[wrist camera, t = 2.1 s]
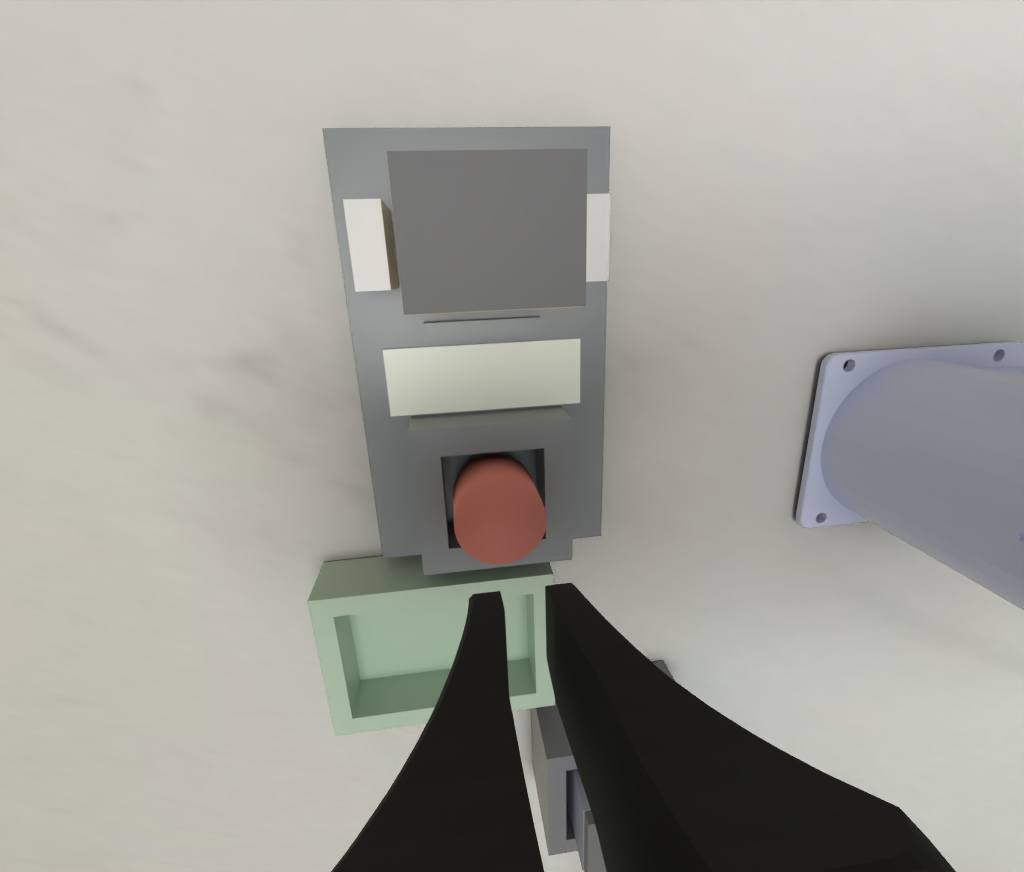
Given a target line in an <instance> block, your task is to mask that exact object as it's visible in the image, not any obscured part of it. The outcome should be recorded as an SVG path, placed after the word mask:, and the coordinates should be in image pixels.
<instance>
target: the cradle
mask: <svg viewBox="0 0 1024 872" xmlns="http://www.w3.org/2000/svg"><path fill="white" fill-rule="evenodd" d="M322 129H323V136H324V143H325V151H326V158H327V165H328V172H329V179H330V186H331V193H332V200H333V207H334V214H335V221H336V228H337V235H338V242H339V249H340V256H341V264H342V271H343V278H344V285H345V292H346V299H347V306H348V313H349V320H350V327H351V334H352V341H353V348H354V355H355V362H356V370H357V377H358V384H359V391H360V398H361V405H362V412H363V419H364V426H365V433H366V440H367V447H368V454H369V461H370V468H371V476H372V483H373V490H374V497H375V504H376V511H377V518H378V525H379V532H380V539H381V546H382V553H383V558H391V557H400V556H410V555H420V554H421V555H422V564H423V573H424V575H433V574H442V573H451V572H460V571H470V570H479V569H488V568H497V567H507V566H516V565H525V564H534V563H544V562H553V561H562V560H571V559H572V539H574V538H584V537H594V536H601V515H602V471H603V427H604V383H605V339H606V294H607V281H609V250H610V208H611V193H609V162H610V127H470V128H322ZM517 149H587V247H586V306H582V307H568V308H547V309H527V310H507V311H486V312H466V313H445V314H425V315H405V316H404V315H403V305H402V296H401V286H400V277H399V268H398V258H397V249H396V239H395V230H394V221H393V211H392V202H391V193H390V183H389V174H388V164H387V155H386V154H387V152H386V151H433V150H517ZM493 454H498V455H505V456H509V457H511V458H514V459H516V460H517V461H519V462H520V463H522V464H523V465H524V466H525V467H526V469H527V470H528V471H529V473H530V475H531V477H532V479H533V482H534V484H535V486H536V489H537V491H538V493H539V495H540V498H541V500H542V502H543V505H544V507H545V510H546V515H547V525H546V530H545V533H544V536H543V538H542V540H541V541H540V543H539V544H538V546H537V547H536V548H535V549H534V550H533V551H532V552H531V553H530V554H528V555H527V556H525V557H524V558H522V559H520V560H517V561H515V562H512V563H508V564H498V565H497V564H488V563H484V562H481V561H478V560H476V559H474V558H473V557H471V556H470V555H468V554H467V553H466V552H465V551H464V550H463V549H462V547H461V546H460V545H459V543H458V541H457V538H456V535H455V530H454V508H453V488H454V483H455V481H456V478H457V476H458V475H459V473H460V472H461V470H462V469H463V468H464V467H465V466H466V465H467V464H469V463H470V462H471V461H473V460H475V459H477V458H479V457H482V456H486V455H493Z"/></svg>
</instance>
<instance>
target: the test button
mask: <svg viewBox="0 0 1024 872" xmlns="http://www.w3.org/2000/svg"><path fill="white" fill-rule="evenodd" d="M453 508H454V530H455V535H456V538H457V541H458V543H459V545H460V546H461V547H462V549H463V550H464V551H465V552H466V553H467V554H468V555H470V556H471V557H473V558H474V559H476V560H478V561H481V562H484V563H488V564H497V565H498V564H508V563H512V562H515V561H517V560H520V559H522V558H524V557H525V556H527V555H528V554H530V553H531V552H532V551H533V550H534V549H535V548H536V547H537V546H538V544H539V543H540V541H541V540H542V538H543V536H544V533H545V530H546V525H547V515H546V510H545V507H544V505H543V502H542V500H541V498H540V495H539V493H538V491H537V489H536V486H535V484H534V482H533V479H532V477H531V475H530V473H529V471H528V470H527V469H526V467H525V466H524V465H523V464H522V463H520V462H519V461H517V460H516V459H514V458H511V457H509V456H505V455H498V454H493V455H486V456H482V457H479V458H477V459H475V460H473V461H471V462H470V463H469V464H467V465H466V466H465V467H464V468H463V469H462V470H461V472H460V473H459V475H458V476H457V478H456V481H455V483H454V488H453Z"/></svg>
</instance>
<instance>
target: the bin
mask: <svg viewBox="0 0 1024 872" xmlns="http://www.w3.org/2000/svg"><path fill="white" fill-rule="evenodd" d="M652 663H653V664H655V665H656V666H657V667H658V668H659V669H660V670H662V671H663V672H664V673H665V674H667V675H668V676H669V677H670V678H671V679H673V677H672V675H671V673H670V672H669V670H668V668H667V666H666V664H665V663H664V661H656V662H652ZM673 680H674V679H673ZM674 681H675V680H674ZM531 731H532V761H533V770H534V776H535V781H536V787H537V793H538V798H539V804H540V809H541V815H542V820H543V826H544V832H545V837H546V843H547V848H548V854H549V855H555V854H561V853H566V852H572V851H578V848H577V843H576V839H575V835H574V831H573V826H572V822H571V818H570V813H569V809H568V805H567V800H566V771H568V770H574V769H577V766H576V763H575V760H574V757H573V754H572V751H571V748H570V745H569V741H568V738H567V735H566V732H565V729H564V726H563V723H562V720H561V717H560V714H559V711H558V707H557V704H556V701H555V705H552V706H545V707H538V708H531Z"/></svg>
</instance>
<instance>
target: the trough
mask: <svg viewBox="0 0 1024 872" xmlns="http://www.w3.org/2000/svg"><path fill="white" fill-rule="evenodd" d="M548 585H553V572H552V569H551V566H550V564H549V562H544V563H534V564H525V565H516V566H507V567H497V568H488V569H479V570H470V571H460V572H451V573H442V574H433V575H424V573H423V564H422V555H421V554H420V555H410V556H400V557H391V558H383V556H379V557H369V558H359V559H349V560H340V561H330V562H324V563H323V566H322V568H321V570H320V573H319V575H318V578H317V580H316V582H315V585H314V587H313V589H312V592H311V594H310V597H309V599H308V601H307V602H308V607H309V612H310V616H311V621H312V626H313V631H314V636H315V641H316V646H317V650H318V655H319V660H320V665H321V670H322V675H323V680H324V684H325V689H326V694H327V699H328V704H329V709H330V714H331V719H332V723H333V728H334V733H335V736H341V735H348V734H355V733H362V732H369V731H376V730H383V729H390V728H397V727H404V726H411V725H418V724H426V723H427V722H428V720H429V718H430V716H431V714H432V712H433V710H434V708H435V706H436V704H437V701H438V699H439V697H440V695H441V692H442V690H443V687H444V685H445V682H446V680H447V677H448V675H449V673H450V670H451V668H452V665H453V662H454V659H455V656H456V653H457V650H458V647H459V644H460V641H461V638H462V634H463V631H464V627H465V623H466V618H467V613H468V605H469V598H470V597H471V596H472V595H473V594H477V593H486V592H495V591H500V593H501V596H502V600H503V604H504V609H505V623H506V642H507V662H508V681H509V697H510V703H511V708H512V711H517V710H524V709H531V708H538V707H545V706H552V705H555V696H554V691H553V687H552V682H551V677H550V673H549V668H548V663H547V658H546V607H545V586H548Z"/></svg>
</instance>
